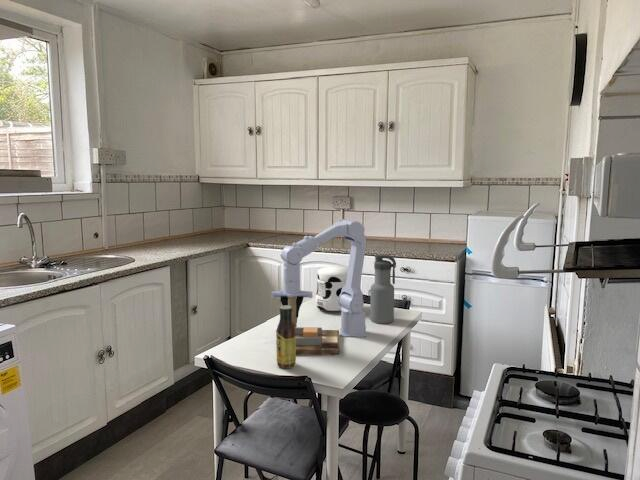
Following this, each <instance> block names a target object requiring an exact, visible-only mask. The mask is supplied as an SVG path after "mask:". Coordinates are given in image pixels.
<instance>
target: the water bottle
mask: <svg viewBox="0 0 640 480" xmlns="http://www.w3.org/2000/svg"><path fill="white" fill-rule="evenodd" d="M374 258H375V260H374V267H373V268H374V283H372V284H371V286H370V309H369V311H370V313H369V318H370V321H371V322H373V323H375V324H380V325H386V324H391V323H392V322H394V319H395V318H394V315H395V313H394V312H395V286H394V285H395V283H396V282H395V281H396V276H395V275H396V272H395V271H396V270H395V268H396V267H397V262H396V260H395V258H394V257H393V256H392V255H390V254H385V253H384V254H383V253H380V254H379V253H375V254H374ZM386 259H388V260H386ZM391 272H392V275H391ZM391 277H392V279H391ZM391 280H392V283H391Z"/></svg>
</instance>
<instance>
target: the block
mask: <svg viewBox="0 0 640 480" xmlns="http://www.w3.org/2000/svg"><path fill="white" fill-rule="evenodd" d="M303 337H318V328H304V330H303Z"/></svg>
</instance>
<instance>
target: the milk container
mask: <svg viewBox="0 0 640 480" xmlns="http://www.w3.org/2000/svg"><path fill="white" fill-rule="evenodd" d="M347 272H348V268H346V267H339V266H338V267H337V266H330V267H322V268H320V269H317V279H316V282H317V288H316V289H317V290H316V294H315V306H316V308H317V309H319V310H321V311H324V312H327V313H341V306H340V305H339V303H338V297H339V295H340V294H341V290H342V288H343V287H344V286H345V285H346V279H347Z"/></svg>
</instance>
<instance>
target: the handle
mask: <svg viewBox="0 0 640 480" xmlns="http://www.w3.org/2000/svg"><path fill="white" fill-rule="evenodd" d="M296 298H297V297H288V305H289V306H292V322H293V323H294V325H295V327H298V326H297V325H298V324H297V323H298V318H296Z"/></svg>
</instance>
